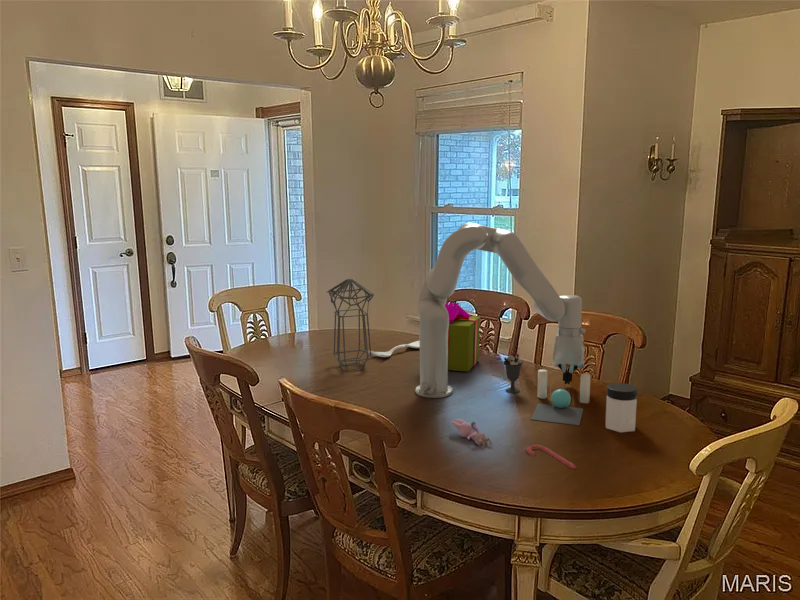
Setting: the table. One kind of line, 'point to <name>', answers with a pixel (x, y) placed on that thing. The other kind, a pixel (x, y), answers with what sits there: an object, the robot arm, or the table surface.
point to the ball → (560, 398)
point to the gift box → (462, 338)
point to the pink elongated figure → (470, 431)
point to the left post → (542, 384)
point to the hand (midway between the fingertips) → (567, 382)
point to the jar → (621, 407)
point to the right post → (584, 388)
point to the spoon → (386, 354)
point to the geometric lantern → (368, 295)
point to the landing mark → (557, 414)
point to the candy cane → (553, 454)
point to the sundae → (513, 370)
